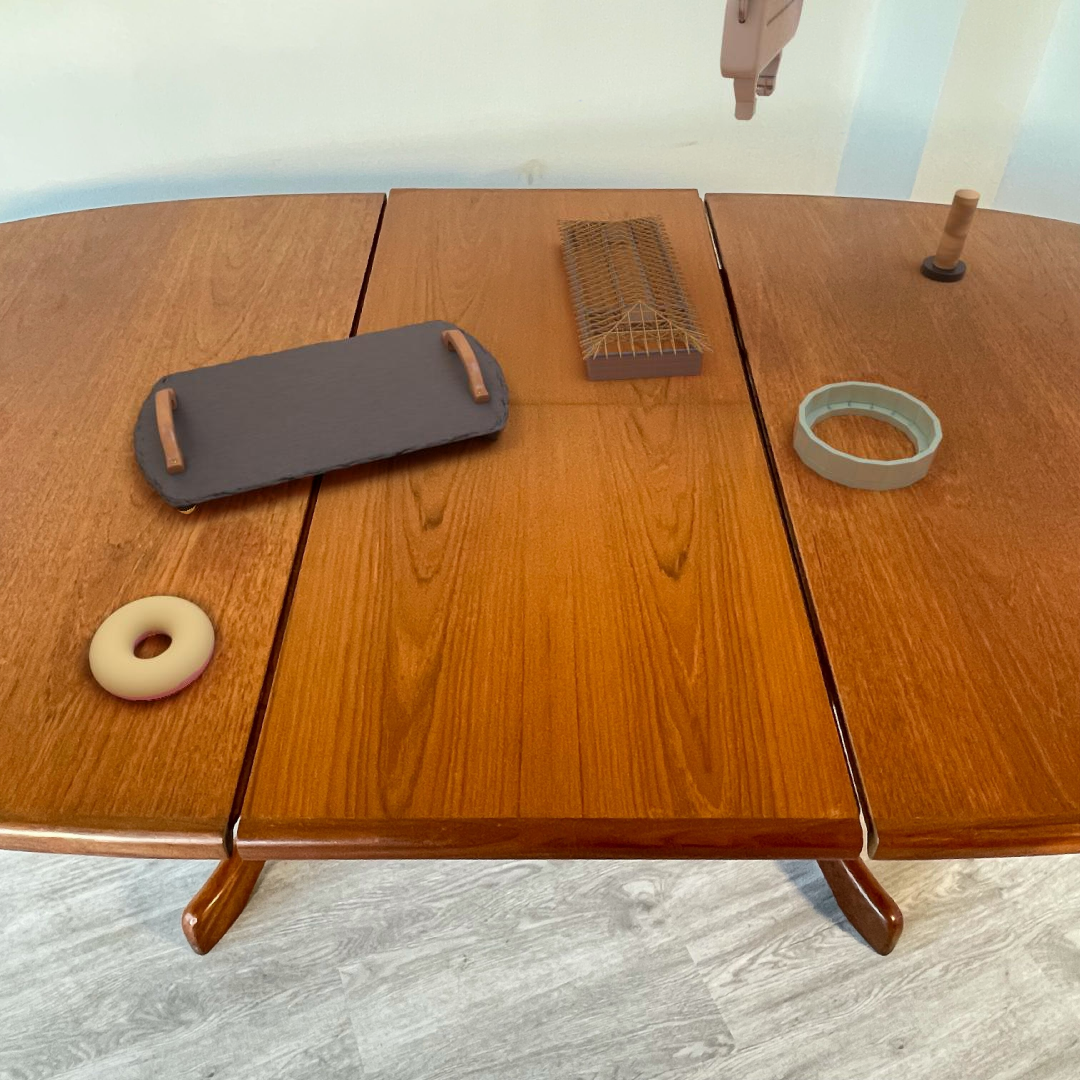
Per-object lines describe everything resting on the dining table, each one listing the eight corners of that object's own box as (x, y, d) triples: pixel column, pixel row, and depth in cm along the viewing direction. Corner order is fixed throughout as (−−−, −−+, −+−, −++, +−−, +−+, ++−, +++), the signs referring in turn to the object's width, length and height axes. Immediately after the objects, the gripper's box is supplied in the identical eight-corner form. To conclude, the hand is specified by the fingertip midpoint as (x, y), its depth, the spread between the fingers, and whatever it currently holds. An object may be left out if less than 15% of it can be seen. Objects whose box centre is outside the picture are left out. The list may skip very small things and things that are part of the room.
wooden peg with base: (956, 278, 114) (987, 186, 106) (961, 297, 111) (994, 204, 102) (914, 274, 115) (942, 183, 107) (918, 294, 111) (947, 201, 103)
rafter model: (709, 378, 99) (716, 330, 95) (582, 385, 98) (583, 337, 94) (658, 238, 124) (661, 195, 120) (556, 243, 123) (556, 200, 119)
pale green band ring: (919, 428, 92) (933, 388, 88) (933, 512, 82) (950, 471, 79) (789, 415, 94) (798, 375, 90) (789, 496, 85) (799, 455, 81)
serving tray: (147, 536, 82) (123, 486, 78) (137, 401, 98) (118, 354, 93) (535, 442, 91) (533, 392, 87) (470, 332, 107) (466, 285, 102)
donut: (197, 618, 78) (84, 657, 73) (186, 575, 75) (68, 612, 71) (236, 679, 71) (114, 727, 66) (226, 634, 68) (98, 680, 64)
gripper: (781, -35, 75) (763, 136, 84) (822, -66, 89) (803, 83, 98) (709, -35, 77) (699, 132, 86) (760, -65, 91) (747, 81, 100)
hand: (755, 106), depth 92 cm, fingers open, 8 cm apart
